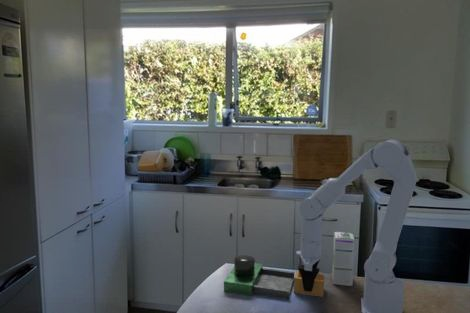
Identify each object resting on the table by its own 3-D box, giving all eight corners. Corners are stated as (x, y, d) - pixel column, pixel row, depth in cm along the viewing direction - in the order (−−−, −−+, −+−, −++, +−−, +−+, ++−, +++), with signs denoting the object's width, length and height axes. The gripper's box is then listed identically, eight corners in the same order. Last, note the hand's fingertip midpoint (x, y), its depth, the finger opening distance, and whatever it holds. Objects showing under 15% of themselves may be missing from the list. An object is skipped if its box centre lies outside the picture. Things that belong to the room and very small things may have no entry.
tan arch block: (323, 288, 110) (324, 274, 109) (322, 297, 105) (323, 281, 105) (296, 285, 112) (296, 270, 112) (293, 292, 107) (294, 277, 107)
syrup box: (352, 286, 112) (355, 238, 110) (332, 284, 113) (334, 237, 111) (351, 278, 117) (353, 232, 115) (331, 276, 118) (333, 231, 116)
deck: (294, 277, 117) (295, 255, 116) (287, 301, 102) (288, 276, 102) (237, 269, 122) (238, 248, 121) (223, 291, 107) (224, 267, 106)
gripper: (299, 229, 115) (297, 272, 117) (293, 246, 101) (291, 294, 103) (323, 231, 113) (321, 275, 115) (320, 249, 99) (318, 298, 101)
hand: (309, 284), depth 109 cm, fingers open, 7 cm apart
